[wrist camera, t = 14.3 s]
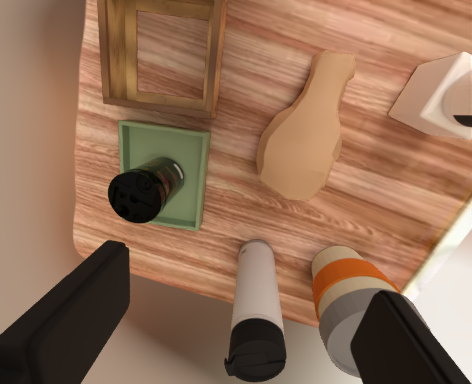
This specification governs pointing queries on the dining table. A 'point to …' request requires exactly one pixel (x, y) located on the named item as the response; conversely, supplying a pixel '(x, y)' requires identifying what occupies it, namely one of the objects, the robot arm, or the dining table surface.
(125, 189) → the supplement container
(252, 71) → the dining table surface
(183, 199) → the tray
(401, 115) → the white block figurine
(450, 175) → the dining table surface
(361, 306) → the reusable coffee cup
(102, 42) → the brown wooden square frame
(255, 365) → the travel mug
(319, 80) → the squash
